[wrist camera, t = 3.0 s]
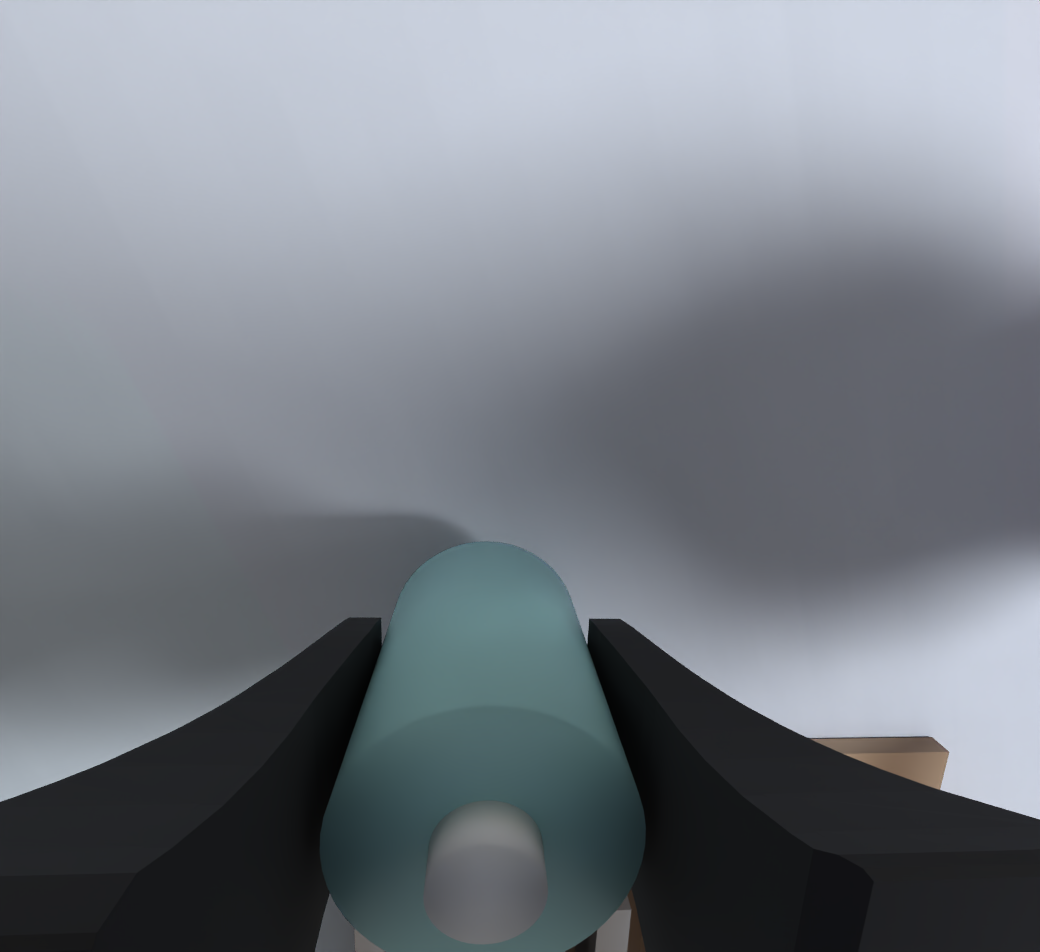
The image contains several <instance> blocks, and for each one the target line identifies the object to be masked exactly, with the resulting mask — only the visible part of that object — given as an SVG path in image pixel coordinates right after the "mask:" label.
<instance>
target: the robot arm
mask: <svg viewBox="0 0 1040 952" xmlns="http://www.w3.org/2000/svg"><path fill="white" fill-rule="evenodd" d="M587 646H588V649H589V652H590V655H591V658H592V661H593V663H594V666H595V669H596V672H597V675H598V678H599V681H600V684H601V686H602V689H603V692H604V695H605V698H606V701H607V704H608V706H609V709H610V712H611V715H612V718H613V721H614V724H615V727H616V729H617V732H618V735H619V738H620V741H621V744H622V747H623V749H624V752H625V755H626V758H627V761H628V764H629V767H630V770H631V772H632V775H633V778H634V781H635V784H636V787H637V790H638V792H639V796H640V799H641V803H642V806H643V809H644V816H645V824H646V838H645V849H644V854H643V859H642V863H641V866H640V869H639V872H638V875H637V878H636V880H635V882H634V883H633V885H632V887H631V890H632V893H633V897H634V901H635V905H636V909H637V914H638V918H639V923H640V928H641V932H642V937H643V942H644V946H645V951H646V952H1040V820H1039V819H1036V818H1032V817H1029V816H1026V815H1022V814H1019V813H1016V812H1012V811H1009V810H1005V809H1002V808H999V807H995V806H992V805H989V804H985V803H982V802H979V801H975V800H972V799H968V798H965V797H962V796H958V795H955V794H952V793H948V792H945V791H942V790H939V789H936V788H933V787H930V786H927V785H924V784H921V783H918V782H916V781H913V780H910V779H907V778H905V777H902V776H899V775H896V774H893V773H891V772H888V771H885V770H882V769H880V768H877V767H875V766H872V765H870V764H867V763H864V762H862V761H859V760H857V759H854V758H852V757H849V756H847V755H845V754H842V753H840V752H838V751H836V750H833V749H831V748H829V747H827V746H824V745H822V744H820V743H818V742H815V741H813V740H811V739H809V738H806V737H804V736H802V735H800V734H798V733H796V732H794V731H792V730H790V729H788V728H786V727H784V726H782V725H780V724H778V723H776V722H774V721H772V720H771V719H769V718H767V717H765V716H763V715H761V714H760V713H758V712H756V711H754V710H752V709H750V708H748V707H747V706H745V705H743V704H742V703H740V702H738V701H736V700H735V699H733V698H731V697H730V696H728V695H727V694H725V693H724V692H722V691H720V690H719V689H717V688H716V687H714V686H713V685H711V684H710V683H708V682H706V681H705V680H703V679H702V678H700V677H699V676H698V675H696V674H695V673H693V672H692V671H690V670H689V669H687V668H686V667H685V666H683V665H682V664H680V663H679V662H678V661H676V660H675V659H674V658H672V657H671V656H670V655H668V654H667V653H666V652H664V651H663V650H662V649H660V648H659V647H658V646H656V645H655V644H654V643H652V642H651V641H650V640H648V639H647V638H646V637H644V636H643V635H642V634H641V633H639V632H638V631H637V630H635V629H634V628H633V627H631V626H630V625H628V624H627V623H626V622H624V621H622V620H621V619H589V631H588V644H587ZM381 648H382V637H381V618H348V619H346V620H345V621H343V622H342V623H340V624H339V625H337V626H336V627H335V628H333V629H332V630H331V631H329V632H328V633H327V634H325V635H324V636H323V637H321V638H320V639H319V640H317V641H316V642H315V643H313V644H312V645H311V646H309V647H308V648H306V649H305V650H304V651H302V652H301V653H300V654H298V655H297V656H296V657H294V658H293V659H291V660H290V661H289V662H287V663H286V664H285V665H283V666H282V667H280V668H279V669H277V670H276V671H274V672H273V673H271V674H269V675H268V676H266V677H265V678H263V679H262V680H260V681H259V682H257V683H256V684H254V685H253V686H251V687H250V688H248V689H247V690H245V691H244V692H242V693H241V694H239V695H237V696H236V697H234V698H232V699H231V700H229V701H227V702H226V703H224V704H222V705H221V706H219V707H217V708H215V709H214V710H212V711H210V712H208V713H206V714H204V715H203V716H201V717H199V718H197V719H195V720H193V721H191V722H190V723H188V724H186V725H184V726H182V727H180V728H178V729H176V730H174V731H172V732H170V733H168V734H166V735H164V736H162V737H159V738H157V739H155V740H153V741H151V742H148V743H146V744H144V745H142V746H140V747H137V748H135V749H133V750H131V751H129V752H127V753H124V754H122V755H120V756H118V757H116V758H113V759H111V760H109V761H107V762H105V763H102V764H100V765H97V766H95V767H92V768H90V769H87V770H85V771H82V772H80V773H77V774H75V775H72V776H70V777H67V778H65V779H62V780H60V781H57V782H54V783H52V784H49V785H46V786H44V787H41V788H38V789H35V790H33V791H30V792H27V793H24V794H22V795H19V796H16V797H14V798H11V799H8V800H5V801H2V802H0V952H315V948H316V944H317V939H318V935H319V931H320V927H321V923H322V918H323V914H324V911H325V907H326V904H327V900H328V897H329V894H330V892H329V890H328V888H327V885H326V882H325V878H324V875H323V872H322V866H321V859H320V833H321V828H322V822H323V817H324V814H325V811H326V808H327V805H328V802H329V799H330V797H331V794H332V791H333V788H334V785H335V782H336V779H337V776H338V773H339V770H340V767H341V764H342V762H343V759H344V756H345V753H346V750H347V747H348V744H349V741H350V738H351V735H352V732H353V729H354V727H355V724H356V721H357V718H358V715H359V712H360V709H361V706H362V703H363V700H364V697H365V694H366V691H367V689H368V686H369V683H370V680H371V677H372V674H373V671H374V668H375V665H376V662H377V659H378V656H379V654H380V651H381Z"/></svg>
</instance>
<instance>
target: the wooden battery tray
mask: <svg viewBox="0 0 1040 952" xmlns="http://www.w3.org/2000/svg"><path fill="white" fill-rule="evenodd" d="M811 740H813V741H815V742H818V743H820V744H822V745H824V746H827V747H829V748H831V749H833V750H836V751H838V752H840V753H842V754H845V755H847V756H849V757H852V758H854V759H857V760H859V761H862V762H864V763H867V764H870V765H872V766H875V767H877V768H880V769H882V770H885V771H888V772H891V773H893V774H896V775H899V776H902V777H905V778H907V779H910V780H913V781H916V782H918V783H921V784H924V785H927V786H930V787H933V788H936V789H939V790H940V787H941V783H942V779H943V775H944V771H945V767H946V763H947V759H948V755H949V751H948V750H946V749H945V748H944V747H943V746H942V745H941V744H939V743H938V742H937V741H936V740H935V739H934V738H932V737H912V738H848V739H811ZM354 937H355V952H386V951H384V950H383V949H381V948H379V947H378V946H376V945H375V944H373V943H371V942H370V941H369V940H368V939H367V938H365V937H364V936H363V935H362V934H360V933H359V932H358V931H357V930H356V929H355V928H354ZM565 952H646V951H645V946H644V942H643V937H642V932H641V928H640V923H639V918H638V914H637V909H636V905H635V901H634V897H633V893H632V890H631V889H630V891H629V893H628V895H627V896H626V898H625V899H624V901H623V902H622V903H621V905H620V906H619V908H618V909H617V910H616V911H615V912H614V913H613V915H612V916H611V917H610V918H609V919H608V920H607V921H606V922H605V923H604V924H603V925H602V926H601V927H600V928H598V929H597V930H596V931H595V932H594V933H593V934H592V935H590V936H589V937H587V938H586V939H584V940H583V941H581V942H580V943H579V944H577V945H576V946H574V947H572V948H570V949H568V950H566V951H565Z"/></svg>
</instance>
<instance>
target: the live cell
mask: <svg viewBox="0 0 1040 952" xmlns="http://www.w3.org/2000/svg"><path fill="white" fill-rule="evenodd" d="M645 838H646V824H645V816H644V809H643V806H642V803H641V799H640V796H639V792H638V790H637V787H636V784H635V781H634V778H633V775H632V772H631V770H630V767H629V764H628V761H627V758H626V755H625V752H624V749H623V747H622V744H621V741H620V738H619V735H618V732H617V729H616V727H615V724H614V721H613V718H612V715H611V712H610V709H609V706H608V704H607V701H606V698H605V695H604V692H603V689H602V686H601V684H600V681H599V678H598V675H597V672H596V669H595V666H594V663H593V661H592V658H591V655H590V652H589V649H588V646H587V643H586V641H585V638H584V635H583V632H582V629H581V626H580V623H579V620H578V618H577V615H576V612H575V609H574V606H573V603H572V600H571V598H570V595H569V593H568V591H567V588H566V586H565V585H564V583H563V582H562V580H561V578H560V577H559V576H558V575H557V573H556V572H555V571H554V570H553V569H552V568H551V567H550V566H549V565H548V564H547V563H546V562H544V561H543V560H542V559H540V558H539V557H537V556H536V555H534V554H533V553H531V552H528V551H526V550H524V549H522V548H519V547H516V546H513V545H510V544H505V543H500V542H472V543H467V544H462V545H458V546H455V547H452V548H449V549H447V550H445V551H443V552H440V553H439V554H437V555H435V556H434V557H432V558H430V559H429V560H428V561H426V562H425V563H424V564H423V565H421V566H420V567H419V568H418V569H417V570H416V571H415V573H414V574H413V575H412V576H411V577H410V579H409V580H408V581H407V583H406V584H405V586H404V588H403V590H402V592H401V593H400V596H399V598H398V601H397V604H396V607H395V610H394V613H393V616H392V619H391V621H390V624H389V627H388V630H387V633H386V636H385V639H384V642H383V645H382V648H381V651H380V654H379V656H378V659H377V662H376V665H375V668H374V671H373V674H372V677H371V680H370V683H369V686H368V689H367V691H366V694H365V697H364V700H363V703H362V706H361V709H360V712H359V715H358V718H357V721H356V724H355V727H354V729H353V732H352V735H351V738H350V741H349V744H348V747H347V750H346V753H345V756H344V759H343V762H342V764H341V767H340V770H339V773H338V776H337V779H336V782H335V785H334V788H333V791H332V794H331V797H330V799H329V802H328V805H327V808H326V811H325V814H324V817H323V822H322V828H321V833H320V859H321V866H322V872H323V875H324V878H325V882H326V885H327V888H328V890H329V892H330V894H331V896H332V898H333V900H334V902H335V904H336V905H337V907H338V908H339V910H340V911H341V912H342V914H343V915H344V917H345V918H346V919H347V920H348V921H349V922H350V924H351V925H352V926H353V927H354V928H355V929H356V930H357V931H358V932H359V933H360V934H362V935H363V936H364V937H365V938H367V939H368V940H369V941H370V942H371V943H373V944H375V945H376V946H378V947H379V948H381V949H383V950H384V951H386V952H565V951H566V950H568V949H570V948H572V947H574V946H576V945H577V944H579V943H580V942H581V941H583V940H584V939H586V938H587V937H589V936H590V935H592V934H593V933H594V932H595V931H596V930H597V929H598V928H600V927H601V926H602V925H603V924H604V923H605V922H606V921H607V920H608V919H609V918H610V917H611V916H612V915H613V913H614V912H615V911H616V910H617V909H618V908H619V906H620V905H621V903H622V902H623V901H624V899H625V898H626V896H627V895H628V893H629V891H630V889H631V887H632V885H633V883H634V882H635V880H636V878H637V875H638V872H639V869H640V866H641V863H642V859H643V854H644V849H645Z"/></svg>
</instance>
